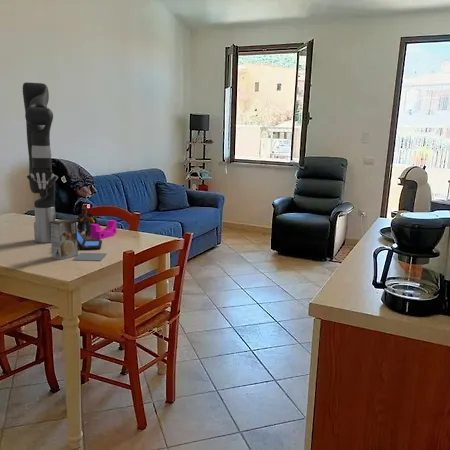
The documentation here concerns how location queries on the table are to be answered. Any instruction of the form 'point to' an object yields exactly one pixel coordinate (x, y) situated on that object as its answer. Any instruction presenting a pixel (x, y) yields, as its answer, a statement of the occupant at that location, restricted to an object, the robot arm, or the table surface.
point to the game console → (88, 243)
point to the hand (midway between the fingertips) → (43, 197)
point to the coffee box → (64, 238)
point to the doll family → (85, 222)
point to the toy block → (105, 233)
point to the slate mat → (90, 256)
